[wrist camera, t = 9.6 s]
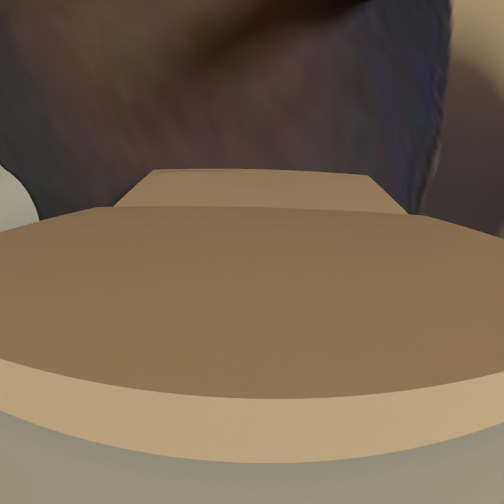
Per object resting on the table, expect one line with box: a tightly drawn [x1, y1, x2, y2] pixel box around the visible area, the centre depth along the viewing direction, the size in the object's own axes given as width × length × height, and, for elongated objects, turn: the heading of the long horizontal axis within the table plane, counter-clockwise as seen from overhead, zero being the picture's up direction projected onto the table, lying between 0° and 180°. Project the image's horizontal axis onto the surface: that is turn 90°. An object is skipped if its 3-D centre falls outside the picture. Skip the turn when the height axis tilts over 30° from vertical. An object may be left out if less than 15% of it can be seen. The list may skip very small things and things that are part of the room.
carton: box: [113, 169, 409, 215], centre depth 27 cm, size 20×16×12 cm
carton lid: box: [0, 206, 504, 463], centre depth 10 cm, size 20×16×1 cm
